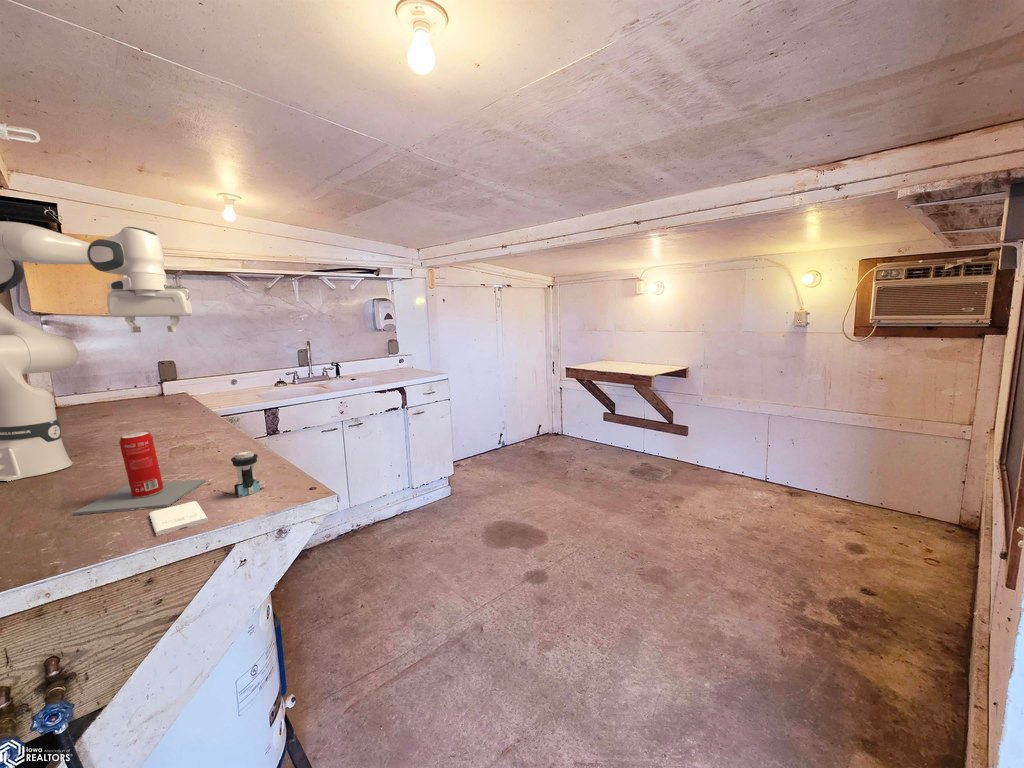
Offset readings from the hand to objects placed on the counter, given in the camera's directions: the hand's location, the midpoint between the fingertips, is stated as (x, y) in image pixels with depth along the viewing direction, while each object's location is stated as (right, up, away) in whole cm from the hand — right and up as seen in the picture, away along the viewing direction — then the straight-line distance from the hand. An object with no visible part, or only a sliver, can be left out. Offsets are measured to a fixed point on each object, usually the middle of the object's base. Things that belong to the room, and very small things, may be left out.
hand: (154, 332), depth 124 cm
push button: (+44, -42, -24) cm, 65 cm away
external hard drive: (+38, -45, -38) cm, 69 cm away
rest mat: (+20, -43, -25) cm, 53 cm away
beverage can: (+20, -42, -25) cm, 53 cm away
